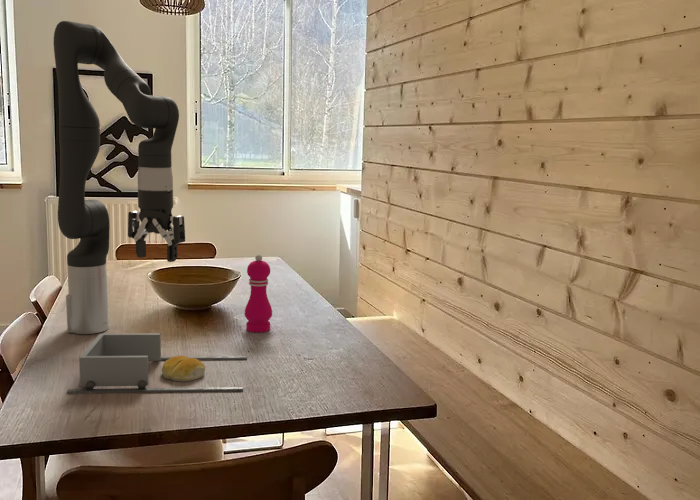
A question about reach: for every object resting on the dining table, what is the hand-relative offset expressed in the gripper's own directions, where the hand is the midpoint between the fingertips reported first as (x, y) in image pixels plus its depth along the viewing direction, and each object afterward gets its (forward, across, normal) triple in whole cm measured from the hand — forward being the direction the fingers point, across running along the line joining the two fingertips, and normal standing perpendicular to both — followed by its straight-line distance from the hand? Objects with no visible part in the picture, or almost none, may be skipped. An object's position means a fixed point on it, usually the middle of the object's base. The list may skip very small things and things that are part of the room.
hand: (156, 259), depth 152 cm
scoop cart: (+22, +3, -14) cm, 26 cm away
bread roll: (+23, +14, -8) cm, 28 cm away
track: (+22, +10, -10) cm, 26 cm away
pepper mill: (+22, +10, +28) cm, 37 cm away
